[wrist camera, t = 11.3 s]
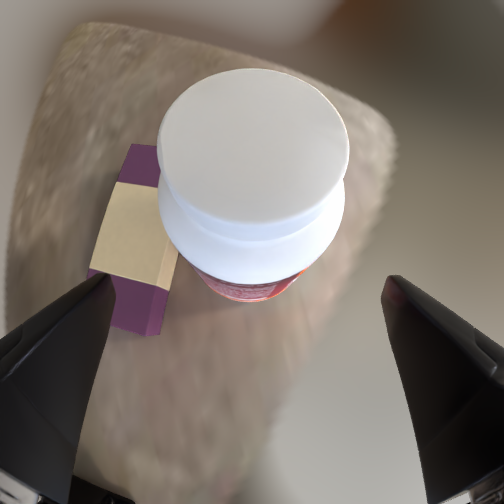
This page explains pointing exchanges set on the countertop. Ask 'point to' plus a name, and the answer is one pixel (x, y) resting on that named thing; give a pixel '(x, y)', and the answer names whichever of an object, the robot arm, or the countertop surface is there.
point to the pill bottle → (251, 179)
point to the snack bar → (136, 245)
